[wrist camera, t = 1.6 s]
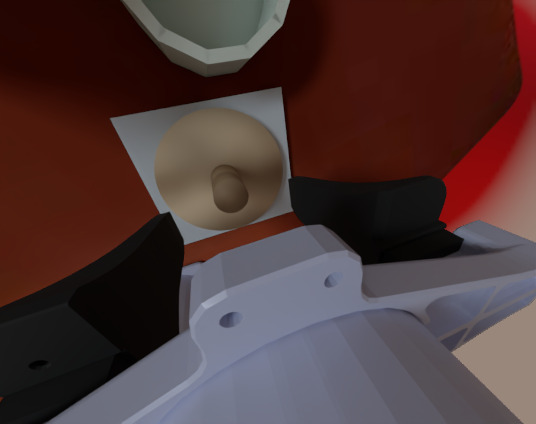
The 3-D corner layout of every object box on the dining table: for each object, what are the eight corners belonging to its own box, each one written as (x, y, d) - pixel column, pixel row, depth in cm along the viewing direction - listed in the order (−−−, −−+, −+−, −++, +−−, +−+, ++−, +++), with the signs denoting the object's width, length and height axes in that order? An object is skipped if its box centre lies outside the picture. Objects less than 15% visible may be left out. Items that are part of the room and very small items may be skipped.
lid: (286, 209, 22) (308, 235, 17) (186, 239, 20) (181, 278, 15) (270, 95, 16) (297, 90, 11) (128, 123, 14) (94, 130, 10)
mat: (292, 208, 22) (294, 210, 22) (178, 243, 20) (177, 246, 20) (278, 87, 16) (281, 86, 16) (112, 118, 14) (109, 118, 14)
